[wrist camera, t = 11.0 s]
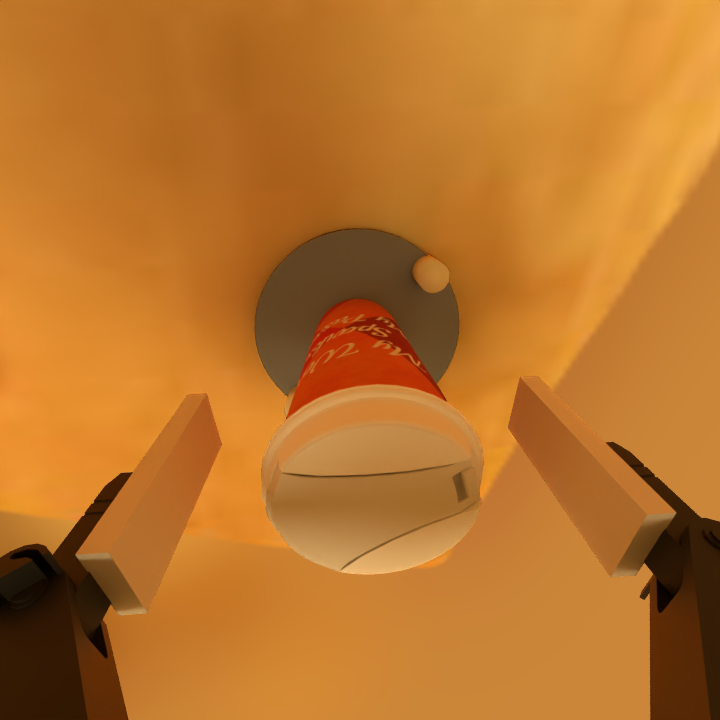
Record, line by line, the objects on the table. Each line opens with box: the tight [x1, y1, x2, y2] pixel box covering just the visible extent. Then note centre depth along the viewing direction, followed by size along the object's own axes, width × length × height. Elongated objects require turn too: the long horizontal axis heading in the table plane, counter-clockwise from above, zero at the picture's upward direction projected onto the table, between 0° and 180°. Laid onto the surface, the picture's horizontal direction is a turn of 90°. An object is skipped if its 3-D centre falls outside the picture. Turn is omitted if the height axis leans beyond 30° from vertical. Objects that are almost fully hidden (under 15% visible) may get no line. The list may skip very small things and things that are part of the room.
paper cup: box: [261, 299, 484, 574], centre depth 17 cm, size 8×8×14 cm
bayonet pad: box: [255, 229, 459, 417], centre depth 22 cm, size 14×14×3 cm
